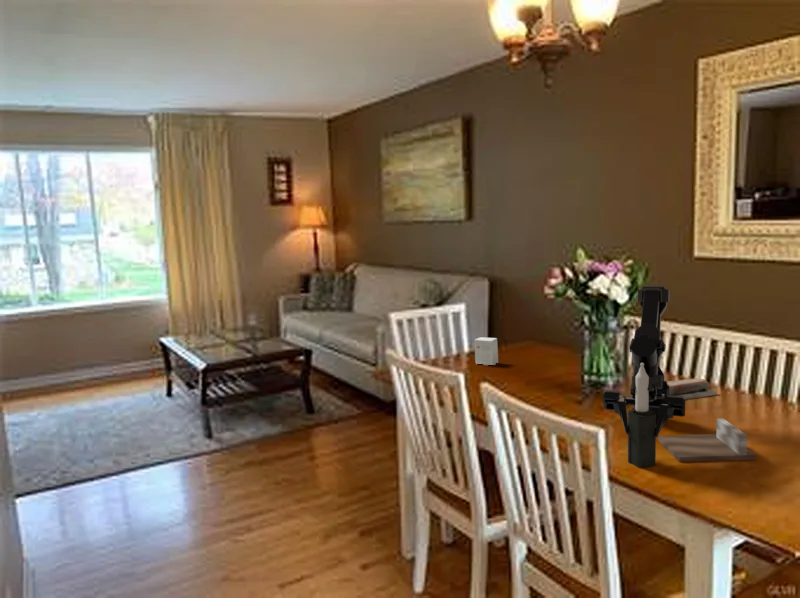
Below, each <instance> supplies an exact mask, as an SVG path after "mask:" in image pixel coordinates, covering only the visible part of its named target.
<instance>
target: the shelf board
mask: <svg viewBox="0 0 800 598" xmlns="http://www.w3.org/2000/svg"><path fill="white" fill-rule="evenodd" d="M657 442H659V443H660V444H661V445H662V446H663V447H664V448H665V449H666V450H667V451H668V452H669V453H670V454H671V455H672V456H673V457H674V458H675V459H676V460H677V461H678V462H680V463H681V462H682V463H683V462H685V463H686V462H717V461H718V462H719V461H720V462H721V461H722V462H723V461H751V460H752V461H753V460H754V461H756V460H757V455H756V454H755V453H754V452H753V451H752V450H750V449H749V448H748V434H746V433H745V432H743V431H742V430H740V429H739V428H737V426H734V425H733V424H732V423H730V422H729V421H727V420H726V419H725V418H720V417H719V418H716V432H715V433H714V434H713V433H710V434H709V433H708V434H679V435H678V434H676V435H675V434H673V435H671V434H670V435H658V437H657Z"/></svg>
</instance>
